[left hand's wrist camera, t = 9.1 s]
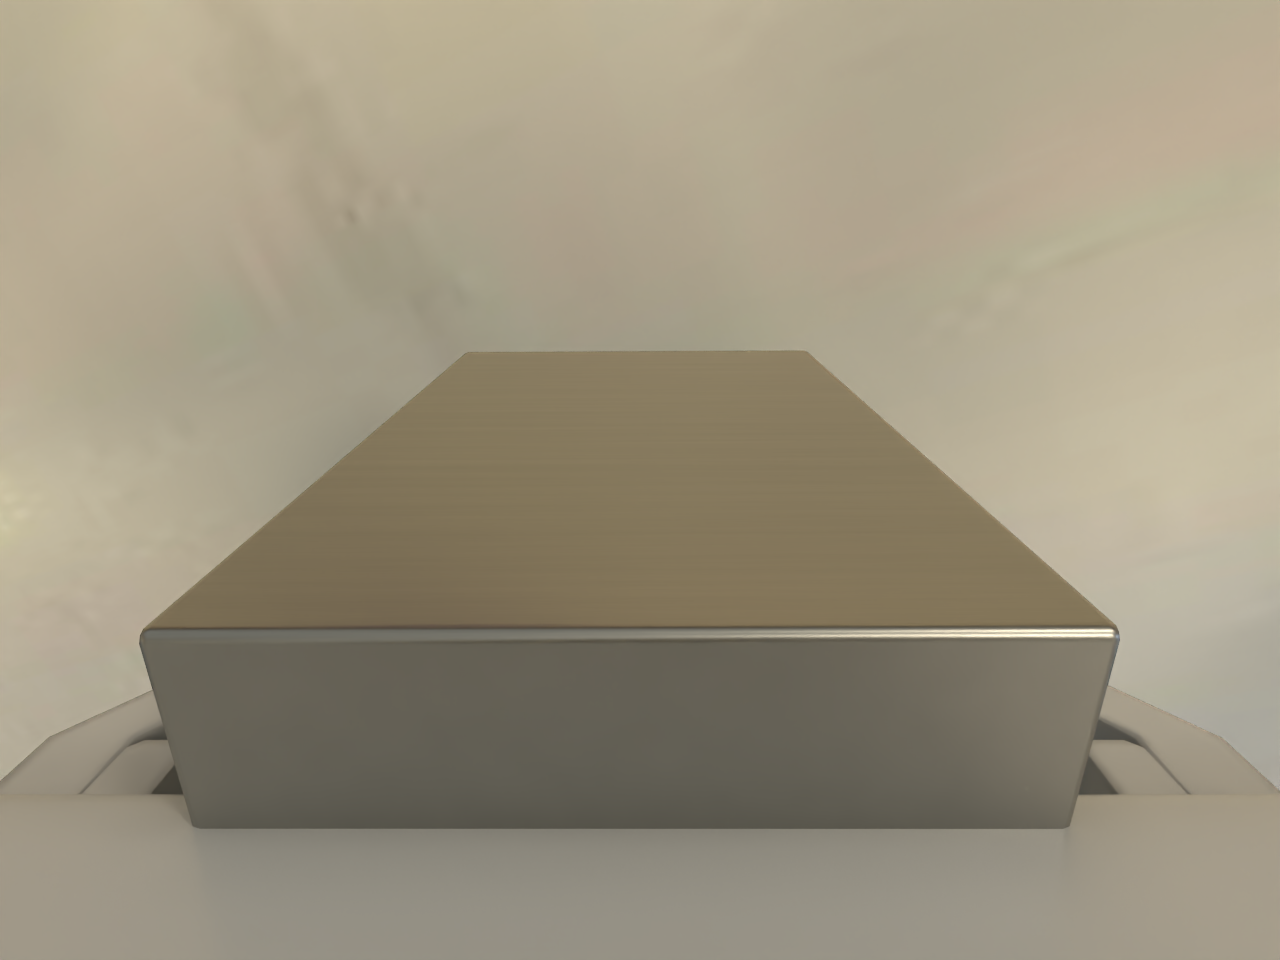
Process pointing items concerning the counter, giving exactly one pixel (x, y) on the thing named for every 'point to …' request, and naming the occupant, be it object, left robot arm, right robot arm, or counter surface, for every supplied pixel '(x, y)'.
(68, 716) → the counter surface
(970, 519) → the box
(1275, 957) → the left robot arm
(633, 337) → the counter surface
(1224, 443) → the counter surface
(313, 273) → the counter surface
